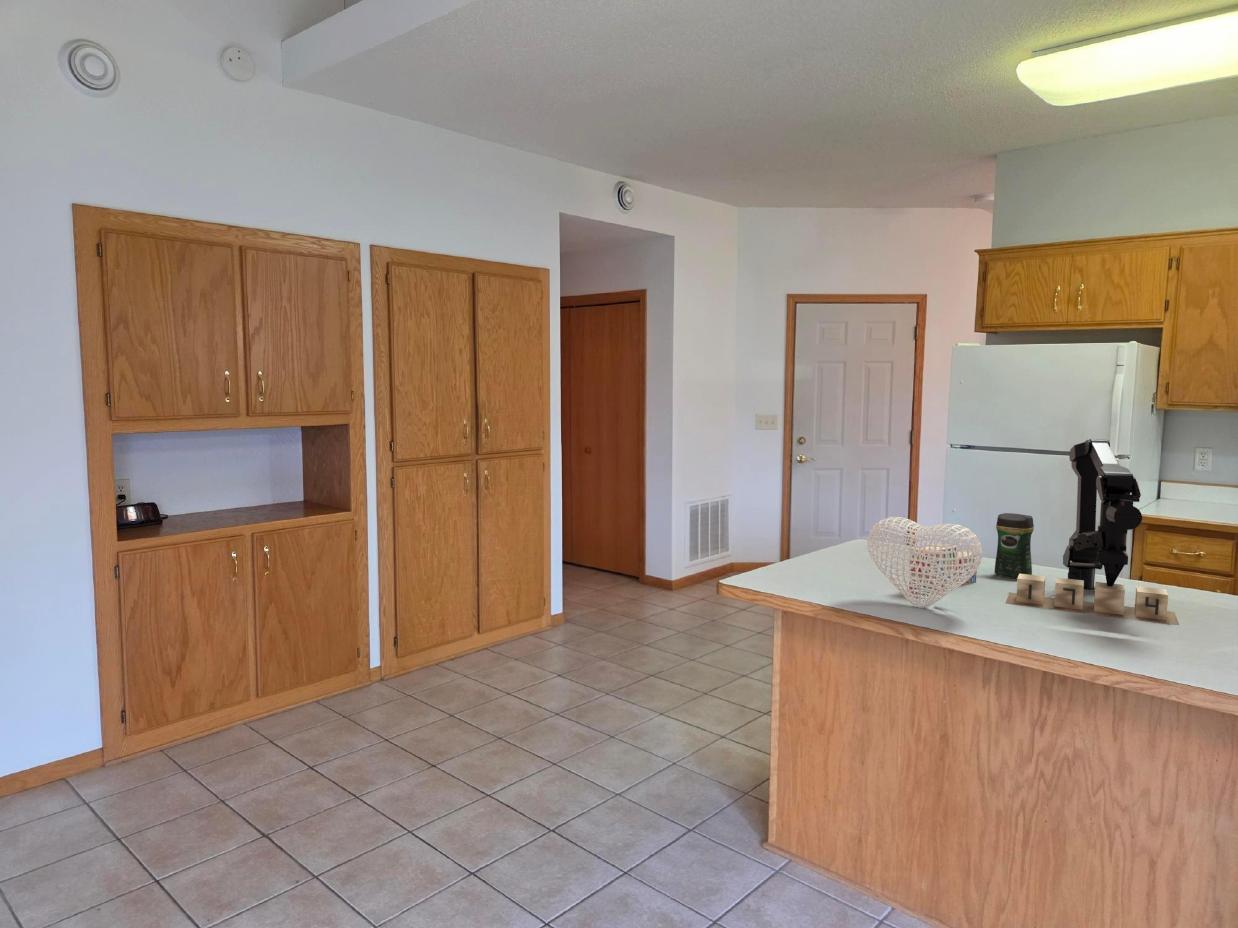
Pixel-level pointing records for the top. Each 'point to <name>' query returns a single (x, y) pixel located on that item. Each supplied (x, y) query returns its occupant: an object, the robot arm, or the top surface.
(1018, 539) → the coffee jar
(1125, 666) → the top surface
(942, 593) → the heart
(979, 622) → the top surface
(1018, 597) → the block one
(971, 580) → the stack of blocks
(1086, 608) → the walnut mat
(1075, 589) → the block seven
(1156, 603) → the block four
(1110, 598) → the plain block
